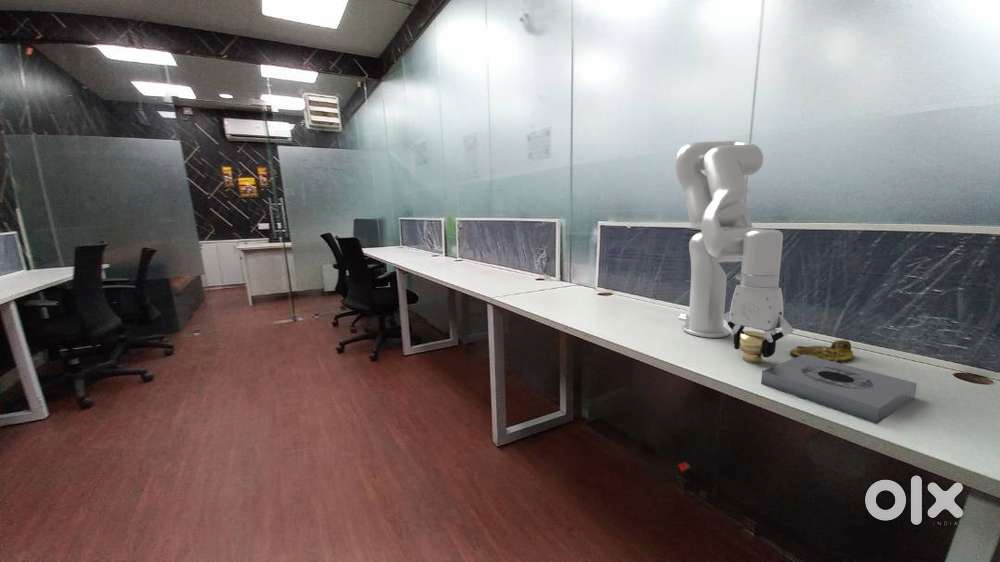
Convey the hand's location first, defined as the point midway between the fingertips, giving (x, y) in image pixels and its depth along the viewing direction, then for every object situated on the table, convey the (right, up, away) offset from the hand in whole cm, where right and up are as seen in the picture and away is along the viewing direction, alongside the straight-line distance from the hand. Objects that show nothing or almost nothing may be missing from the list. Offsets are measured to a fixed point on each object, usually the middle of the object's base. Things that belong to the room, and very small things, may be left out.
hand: (753, 351), depth 89 cm
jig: (+5, -5, -16) cm, 17 cm away
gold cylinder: (0, -2, 0) cm, 2 cm away
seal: (+19, -2, +2) cm, 19 cm away
